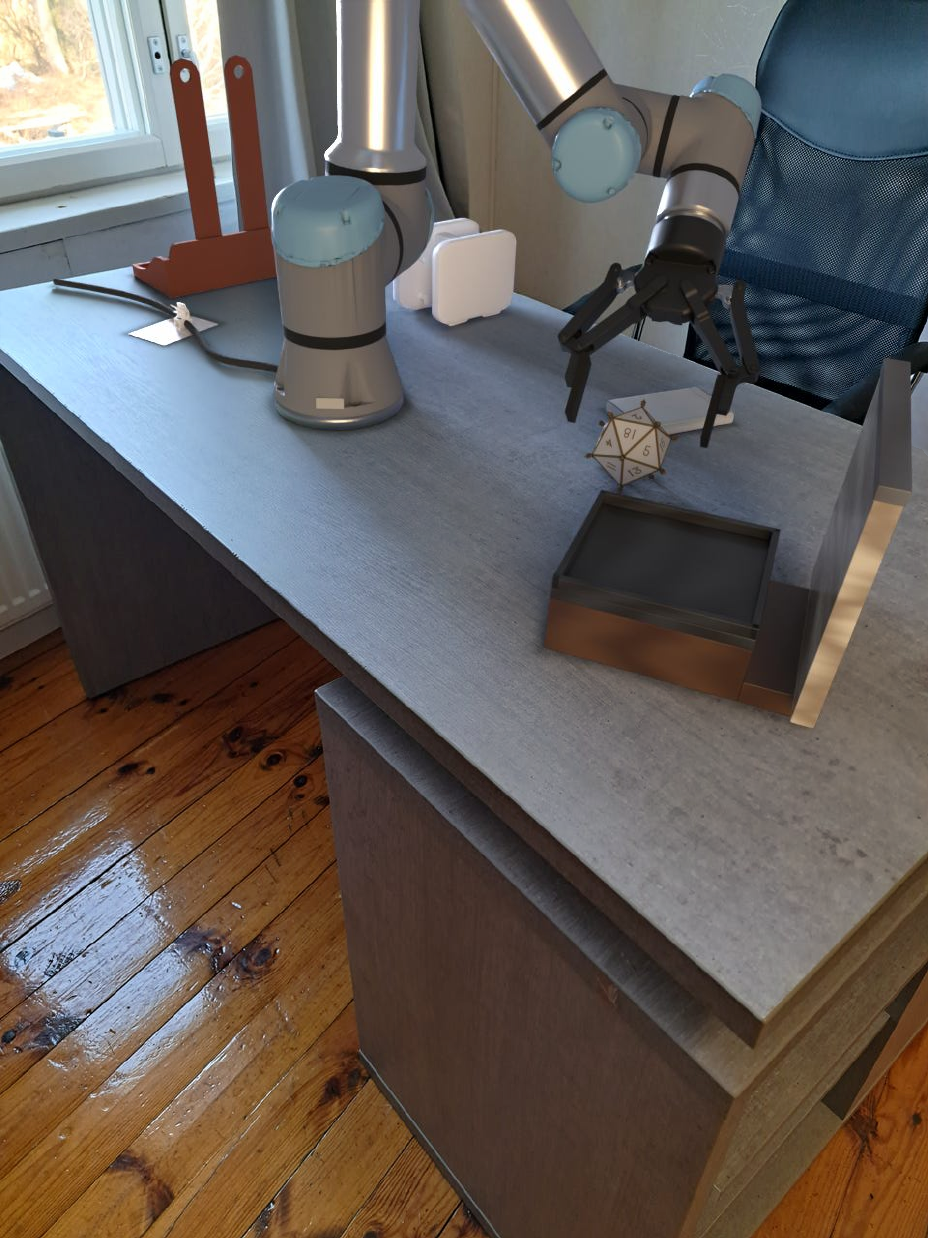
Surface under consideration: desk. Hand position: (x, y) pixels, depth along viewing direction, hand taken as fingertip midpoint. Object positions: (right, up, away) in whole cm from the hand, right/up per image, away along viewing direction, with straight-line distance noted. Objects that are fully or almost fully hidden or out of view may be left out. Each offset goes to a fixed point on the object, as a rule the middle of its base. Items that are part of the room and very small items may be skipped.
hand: (635, 430), depth 86 cm
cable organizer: (-19, +27, +43) cm, 54 cm away
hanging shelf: (-56, +37, +54) cm, 86 cm away
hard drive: (+7, +5, +16) cm, 19 cm away
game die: (0, -5, +4) cm, 6 cm away
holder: (+1, -20, -15) cm, 25 cm away
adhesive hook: (-57, +21, +34) cm, 70 cm away
